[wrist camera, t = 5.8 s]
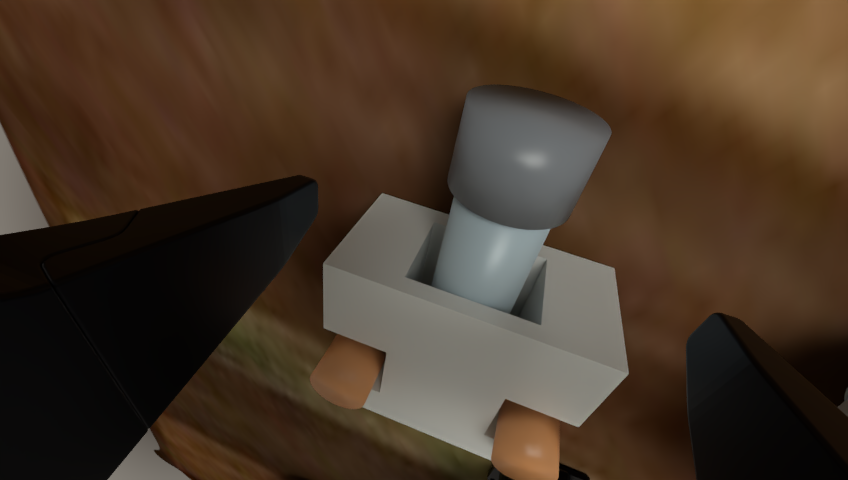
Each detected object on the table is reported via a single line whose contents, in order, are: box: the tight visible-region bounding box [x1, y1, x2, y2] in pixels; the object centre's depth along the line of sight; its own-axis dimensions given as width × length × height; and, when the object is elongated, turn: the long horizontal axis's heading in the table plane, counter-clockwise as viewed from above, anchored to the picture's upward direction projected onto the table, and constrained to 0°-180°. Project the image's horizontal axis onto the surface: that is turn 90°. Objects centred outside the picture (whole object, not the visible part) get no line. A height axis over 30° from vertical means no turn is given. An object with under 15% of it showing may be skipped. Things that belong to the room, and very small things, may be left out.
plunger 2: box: [491, 399, 560, 480], centre depth 17 cm, size 3×3×2 cm
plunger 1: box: [310, 334, 386, 409], centre depth 18 cm, size 3×3×2 cm
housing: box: [323, 193, 629, 460], centre depth 19 cm, size 10×12×6 cm
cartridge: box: [431, 85, 611, 314], centre depth 17 cm, size 16×5×5 cm, turn 170°
